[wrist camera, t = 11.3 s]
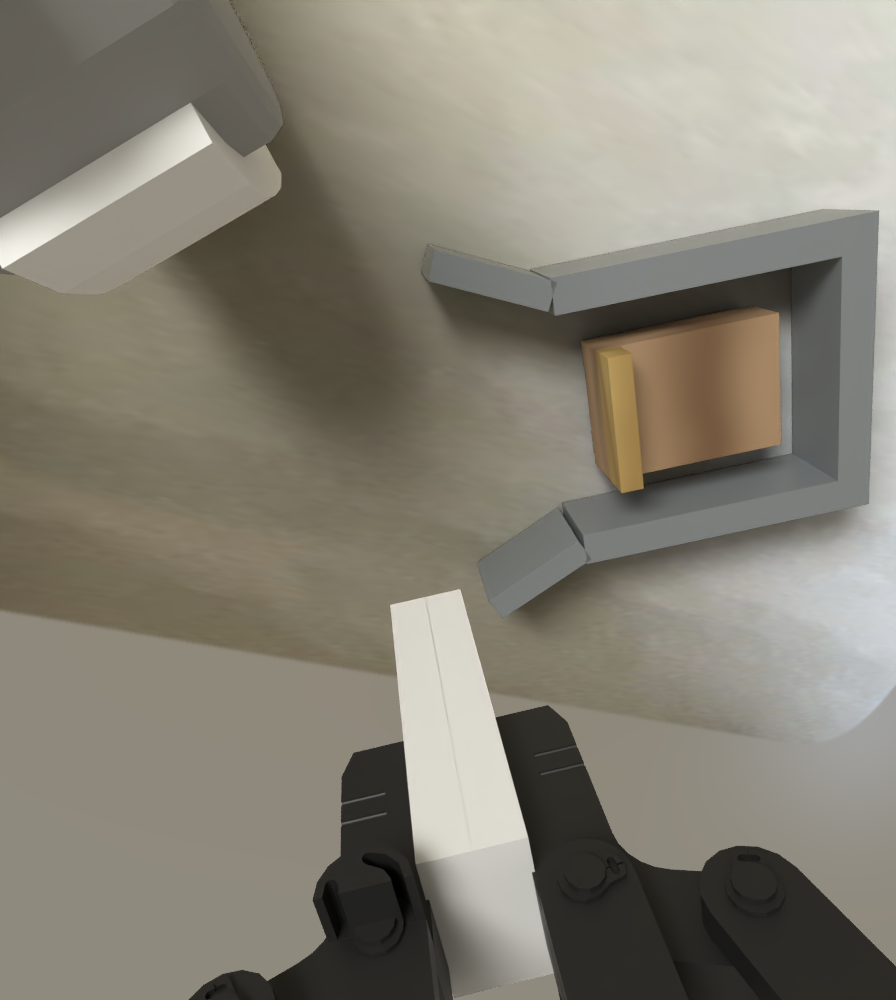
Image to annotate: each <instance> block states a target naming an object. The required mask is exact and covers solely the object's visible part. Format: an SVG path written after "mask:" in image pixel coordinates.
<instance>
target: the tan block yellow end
mask: <svg viewBox="0 0 896 1000" xmlns="http://www.w3.org/2000/svg"><path fill="white" fill-rule="evenodd" d="M581 347H582V355H583V364H584V368H585V377H586V385H587V394H588V403H589V411H590V420H591V429H592V430H591V433H592V441H593V450H594V454H595V463H596V464H597V466H598V467H599V468H600V469H601V470H602V471H603V473H604V474H605V475H606V476H607V477H608V478H609V479H610V481H611V482H612V483H613V484H614V485H615V486H616V488H617V489H618V490H619V491H620V492H621V493H625V492H630V491H635V490H639V489H644V485H643V473H648V472H653V471H658V470H662V469H667V468H672V467H676V466H681V465H686V464H691V463H695V462H700V461H705V460H710V459H714V458H719V457H724V456H728V455H733V454H738V453H743V452H747V451H752V450H757V449H761V448H766V447H771V446H776V445H780V444H781V413H780V338H779V313H778V312H774V311H771V310H767V309H764V308H760V307H756V306H753V305H752V306H747V307H742V308H737V309H732V310H727V311H722V312H718V313H713V314H708V315H703V316H698V317H693V318H689V319H684V320H679V321H674V322H669V323H664V324H660V325H655V326H650V327H645V328H640V329H635V330H631V331H626V332H621V333H616V334H611V335H606V336H602V337H597V338H592V339H587V340H582V341H581Z"/></svg>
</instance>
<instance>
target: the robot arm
mask: <svg viewBox="0 0 896 1000" xmlns="http://www.w3.org/2000/svg"><path fill="white" fill-rule="evenodd" d="M390 606H391V616H392V627H393V637H394V647H395V658H396V668H397V678H398V688H399V699H400V709H401V719H402V729H403V740H404V741H402V742H398V743H394V744H389V745H385V746H381V747H377V748H372V749H369V750H364V751H360V752H355V753H353V755H352V757H351V759H350V761H349V763H348V765H347V767H346V769H345V772H344V773H343V776H342V796H341V802H342V807H341V823H342V827H341V857H339V858H338V859H337V860H336V861H334V862H333V863H332V864H330V865H329V866H328V867H327V869H326V870H325V872H324V873H323V875H322V876H321V878H320V879H319V881H318V882H317V885H316V889H315V893H314V897H313V902H314V905H315V908H316V910H317V913H318V916H319V918H320V921H321V924H322V926H323V929H324V932H325V934H326V939H325V940H324V942H323V943H322V944H321V945H320V946H319V947H318V948H317V949H316V950H315V951H314V952H313V953H312V954H311V955H309V956H308V957H306V958H305V959H303V960H302V961H301V962H299V963H298V964H296V965H294V966H293V967H291V968H289V969H287V970H286V971H284V972H282V973H281V974H279V975H277V976H275V977H274V978H272V979H270V980H269V981H266V980H265V979H264V978H263V977H262V976H261V975H260V974H258V973H253V972H248V971H244V970H240V971H236V972H230V973H226V974H222V975H220V976H219V977H217V978H215V979H213V980H212V981H210V982H208V983H206V984H205V985H203V986H202V987H201V988H200V989H199V990H198V991H197V992H196V993H195V994H194V995H193V996H192V997H191V998H190V999H189V1000H453V997H452V992H453V996H454V998H456V997H460V996H464V995H468V994H472V993H476V992H480V991H484V990H488V989H492V988H496V987H500V986H504V985H508V984H512V983H516V982H520V981H524V980H528V979H532V978H536V977H540V976H544V975H548V974H552V973H554V975H555V979H556V983H557V987H558V991H559V996H560V1000H896V966H895V965H894V964H893V963H892V962H891V961H890V960H889V959H888V958H887V957H886V956H885V955H884V954H883V953H882V952H881V951H880V950H879V949H877V947H876V946H875V945H874V944H873V943H872V942H871V941H870V940H869V939H868V938H867V937H866V936H865V935H864V934H863V933H862V932H861V931H860V930H859V929H858V928H857V927H856V926H855V925H854V924H853V923H852V922H851V921H850V920H849V919H848V918H847V917H846V916H845V915H844V914H843V913H842V912H841V911H840V910H839V909H838V908H837V907H836V906H835V905H834V904H833V903H832V902H831V901H830V900H829V899H828V898H827V897H826V896H825V895H824V894H823V893H821V891H820V890H819V889H818V888H817V887H816V886H815V885H814V884H812V883H811V881H810V880H808V878H807V877H806V876H805V875H804V874H803V873H802V872H800V871H799V869H798V868H797V867H795V866H794V865H793V864H791V863H790V862H789V861H787V860H786V859H784V858H783V857H781V856H780V855H779V854H777V853H773V852H771V851H768V850H765V849H762V848H760V847H750V846H735V847H731V848H728V849H725V850H721V851H719V852H718V853H716V854H715V855H714V856H713V857H711V858H710V859H709V860H708V861H706V863H705V865H704V868H703V870H702V871H686V870H670V869H664V868H658V867H654V866H651V865H648V864H646V863H643V862H640V861H639V860H637V859H636V858H634V857H633V856H631V855H630V854H628V853H627V852H626V851H625V850H624V849H623V848H622V847H621V846H620V845H619V844H618V842H617V840H616V839H615V837H614V835H613V833H612V831H611V829H610V826H609V824H608V821H607V819H606V816H605V814H604V811H603V809H602V806H601V804H600V802H599V799H598V797H597V795H596V792H595V789H594V787H593V784H592V782H591V779H590V777H589V774H588V772H587V770H586V767H585V766H584V762H583V760H582V757H581V755H580V752H579V750H578V748H577V746H576V742H575V740H574V737H573V735H572V733H571V730H570V728H569V725H568V723H567V722H566V720H564V719H563V718H562V717H561V716H560V715H559V714H558V713H556V712H555V711H554V710H553V709H551V708H550V707H549V706H548V705H547V706H543V707H538V708H534V709H530V710H526V711H521V712H517V713H513V714H509V715H504V716H501V717H497V718H495V715H494V712H493V707H492V704H491V700H490V697H489V693H488V689H487V686H486V682H485V678H484V675H483V671H482V667H481V664H480V660H479V656H478V653H477V649H476V645H475V642H474V638H473V634H472V631H471V627H470V623H469V620H468V616H467V613H466V609H465V605H464V602H463V598H462V594H461V591H460V589H459V590H454V591H450V592H445V593H441V594H437V595H432V596H428V597H424V598H419V599H415V600H410V601H406V602H402V603H397V604H393V605H390Z"/></svg>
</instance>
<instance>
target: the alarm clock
mask: <svg viewBox="0 0 896 1000" xmlns="http://www.w3.org/2000/svg"><path fill="white" fill-rule="evenodd" d="M283 124H284V123H283V117H282V112H281V106H280V104H279V101H278V99H277V96H276V94H275V91H274V89H273V87H272V85H271V83H270V81H269V79H268V77H267V75H266V72H265V70H264V68H263V66H262V64H261V62H260V60H259V58H258V56H257V54H256V52H255V50H254V48H253V46H252V44H251V42H250V40H249V39H248V37H247V35H246V33H245V31H244V29H243V27H242V25H241V23H240V21H239V19H238V17H237V15H236V13H235V11H234V10H233V8H232V6H231V4H230V2H229V0H0V273H1V274H12V275H19V276H21V277H23V278H26V279H28V280H30V281H33V282H35V283H38V284H40V285H42V286H45V287H47V288H49V289H52V290H54V291H57V292H59V293H61V294H95V295H102V294H104V293H106V292H109V291H111V290H113V289H115V288H117V287H119V286H121V285H123V284H125V283H127V282H129V281H130V280H132V279H134V278H135V277H137V276H139V275H141V274H142V273H144V272H146V271H147V270H149V269H151V268H152V267H154V266H156V265H158V264H159V263H161V262H163V261H164V260H166V259H168V258H170V257H171V256H173V255H175V254H176V253H178V252H180V251H181V250H183V249H185V248H187V247H188V246H190V245H192V244H193V243H195V242H197V241H199V240H200V239H202V238H204V237H205V236H207V235H209V234H210V233H212V232H214V231H216V230H217V229H219V228H221V227H222V226H224V225H226V224H227V223H229V222H231V221H233V220H234V219H236V218H238V217H239V216H241V215H243V214H245V213H246V212H248V211H250V210H251V209H253V208H255V207H256V206H258V205H260V204H262V203H263V202H265V201H267V200H268V199H270V198H272V197H274V196H275V195H276V194H277V193H278V191H279V190H280V188H281V178H282V174H281V172H280V170H279V168H278V166H277V165H276V163H275V161H274V159H273V157H272V155H271V154H270V152H269V150H268V148H267V146H266V144H267V143H269V142H271V141H272V140H273V139H274V137H275V136H276V134H277V133H278V131H279V130H280V128H281V127H282V125H283Z"/></svg>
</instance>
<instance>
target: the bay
mask: <svg viewBox="0 0 896 1000" xmlns="http://www.w3.org/2000/svg"><path fill="white" fill-rule="evenodd" d="M878 225H879V211H874V210H834V209H822V210H817V211H812V212H807V213H802V214H797V215H792V216H788V217H783V218H778V219H773V220H768V221H763V222H758V223H753V224H748V225H744V226H739V227H734V228H729V229H724V230H719V231H714V232H709V233H705V234H700V235H695V236H690V237H685V238H680V239H675V240H670V241H665V242H661V243H656V244H651V245H646V246H641V247H636V248H631V249H626V250H621V251H617V252H612V253H607V254H602V255H597V256H592V257H587V258H582V259H578V260H573V261H568V262H563V263H558V264H553V265H548V266H543V267H538V268H534V269H530V271H528V270H524V269H520V268H516V267H513V266H509V265H505V264H501V263H498V262H494V261H490V260H486V259H482V258H479V257H475V256H471V255H467V254H464V253H460V252H456V251H452V250H449V249H445V248H441V247H437V246H434V245H430V244H428V245H427V249H426V253H425V258H424V262H423V266H422V270H421V272H422V274H423V275H424V276H425V278H426V279H427V281H429V282H433V283H437V284H441V285H445V286H449V287H453V288H457V289H460V290H464V291H468V292H472V293H476V294H480V295H484V296H488V297H492V298H496V299H499V300H503V301H507V302H511V303H515V304H519V305H523V306H527V307H531V308H535V309H538V310H542V311H546V312H550V313H551V314H553V315H554V316H557V315H562V314H567V313H572V312H576V311H581V310H586V309H591V308H596V307H601V306H605V305H610V304H615V303H620V302H625V301H630V300H635V299H639V298H644V297H649V296H654V295H659V294H664V293H668V292H673V291H678V290H683V289H688V288H693V287H698V286H702V285H707V284H712V283H717V282H722V281H727V280H731V279H736V278H741V277H746V276H751V275H756V274H761V273H765V272H770V271H775V270H780V269H785V268H790V267H791V317H792V454H789V455H784V456H779V457H775V458H770V459H765V460H760V461H756V462H751V463H746V464H742V465H737V466H732V467H727V468H723V469H718V470H713V471H709V472H704V473H699V474H694V475H690V476H685V477H680V478H675V479H671V480H666V481H661V482H657V483H652V484H647V485H644V489H639V490H635V491H630V492H625V493H621V492H620V491H614V492H609V493H605V494H600V495H595V496H591V497H586V498H581V499H576V500H572V501H567V502H562V505H563V513H564V515H563V514H562V513H561V511H560V510H559V509H558V507H557V508H556V509H555V510H553V511H552V512H550V513H549V514H547V515H546V516H544V517H543V518H541V519H540V520H538V521H537V522H536V523H534V524H533V525H531V526H530V527H528V528H527V529H525V530H524V531H522V532H521V533H519V534H518V535H517V536H515V537H514V538H512V539H511V540H509V541H508V542H506V543H505V544H503V545H502V546H500V547H499V548H498V549H496V550H495V551H493V552H492V553H490V554H489V555H487V556H486V557H484V558H483V559H481V560H480V561H479V562H477V564H478V568H479V571H480V574H481V577H482V581H483V584H484V587H485V591H486V594H487V597H488V601H489V602H490V603H491V605H492V606H493V607H494V608H495V610H496V611H497V612H498V613H499V614H500V616H501V617H502V618H504V617H506V616H507V615H509V614H510V613H512V612H513V611H515V610H516V609H518V608H519V607H521V606H522V605H524V604H525V603H527V602H528V601H530V600H531V599H533V598H534V597H536V596H537V595H539V594H540V593H542V592H543V591H545V590H546V589H548V588H549V587H551V586H552V585H554V584H555V583H557V582H558V581H560V580H561V579H563V578H564V577H566V576H567V575H569V574H570V573H572V572H573V571H575V570H576V569H578V568H579V567H581V566H582V565H584V564H585V563H586V564H590V563H595V562H599V561H604V560H609V559H613V558H618V557H623V556H627V555H632V554H637V553H642V552H646V551H651V550H656V549H660V548H665V547H670V546H674V545H679V544H684V543H688V542H693V541H698V540H702V539H707V538H712V537H716V536H721V535H726V534H730V533H735V532H740V531H744V530H749V529H754V528H758V527H763V526H768V525H772V524H777V523H782V522H786V521H791V520H796V519H800V518H805V517H810V516H814V515H819V514H824V513H828V512H833V511H838V510H842V509H847V508H852V507H856V506H861V505H866V504H869V478H870V450H871V422H872V394H873V366H874V338H875V310H876V282H877V254H878Z"/></svg>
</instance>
